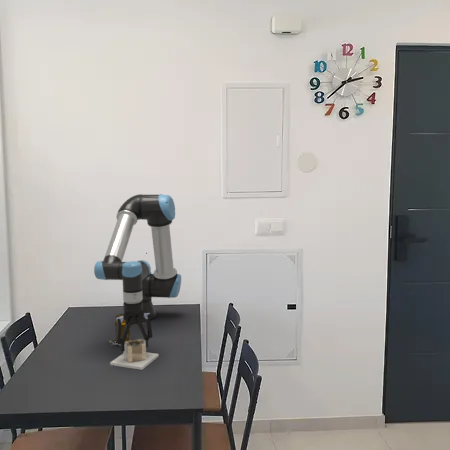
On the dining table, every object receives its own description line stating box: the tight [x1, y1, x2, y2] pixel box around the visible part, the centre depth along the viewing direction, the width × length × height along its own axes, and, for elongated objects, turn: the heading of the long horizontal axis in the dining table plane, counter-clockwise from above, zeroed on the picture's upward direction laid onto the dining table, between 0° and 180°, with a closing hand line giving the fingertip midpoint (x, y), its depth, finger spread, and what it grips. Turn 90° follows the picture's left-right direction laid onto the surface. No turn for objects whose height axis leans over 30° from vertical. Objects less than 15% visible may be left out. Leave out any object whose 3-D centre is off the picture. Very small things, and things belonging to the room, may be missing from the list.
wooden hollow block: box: [125, 338, 147, 362], centre depth 209 cm, size 7×7×6 cm
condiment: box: [108, 313, 131, 344], centre depth 229 cm, size 7×8×12 cm
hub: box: [109, 343, 160, 370], centre depth 210 cm, size 14×14×7 cm
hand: (134, 356), depth 210 cm, fingers closed on wooden hollow block, 7 cm apart
